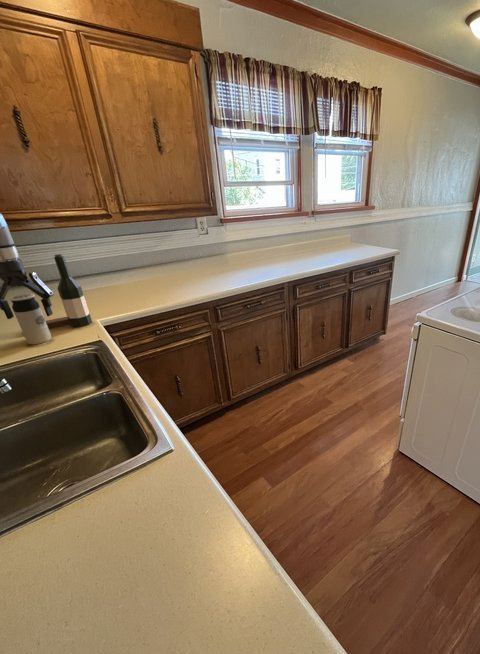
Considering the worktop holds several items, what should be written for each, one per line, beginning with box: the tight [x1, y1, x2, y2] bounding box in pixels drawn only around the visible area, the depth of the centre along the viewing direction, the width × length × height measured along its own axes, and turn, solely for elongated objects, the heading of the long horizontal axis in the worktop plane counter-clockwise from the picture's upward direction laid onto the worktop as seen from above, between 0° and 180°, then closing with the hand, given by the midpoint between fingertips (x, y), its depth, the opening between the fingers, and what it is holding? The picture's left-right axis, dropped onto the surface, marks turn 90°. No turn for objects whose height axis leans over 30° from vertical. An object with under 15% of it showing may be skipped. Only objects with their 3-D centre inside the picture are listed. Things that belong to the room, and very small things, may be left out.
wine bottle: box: [53, 253, 93, 328], centre depth 137 cm, size 8×8×30 cm
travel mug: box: [9, 293, 52, 345], centre depth 125 cm, size 8×8×18 cm
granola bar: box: [45, 316, 70, 330], centre depth 142 cm, size 12×4×2 cm, turn 130°
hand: (30, 316), depth 124 cm, fingers open, 13 cm apart
